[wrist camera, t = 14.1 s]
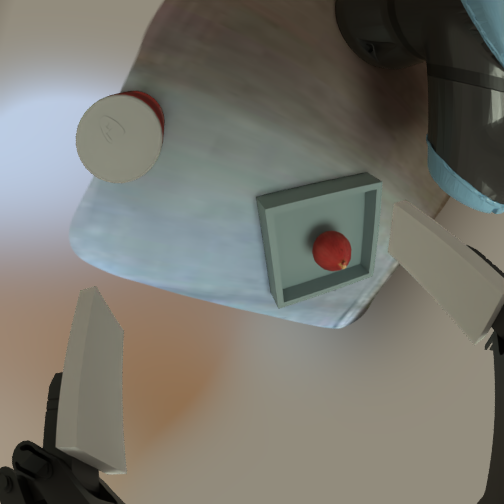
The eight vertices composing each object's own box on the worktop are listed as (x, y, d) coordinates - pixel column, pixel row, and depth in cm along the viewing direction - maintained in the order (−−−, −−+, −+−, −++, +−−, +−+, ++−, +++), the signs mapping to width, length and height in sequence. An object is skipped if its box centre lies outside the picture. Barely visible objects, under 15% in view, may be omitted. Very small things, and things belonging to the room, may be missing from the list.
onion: (343, 227, 46) (370, 254, 39) (325, 256, 48) (349, 287, 42) (315, 217, 43) (341, 245, 37) (297, 249, 45) (320, 281, 39)
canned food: (127, 78, 27) (109, 77, 18) (178, 116, 31) (182, 131, 23) (88, 130, 29) (58, 152, 20) (138, 165, 33) (128, 200, 24)
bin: (367, 172, 42) (382, 181, 39) (361, 263, 53) (372, 276, 50) (256, 197, 40) (264, 209, 37) (270, 292, 50) (278, 308, 47)
